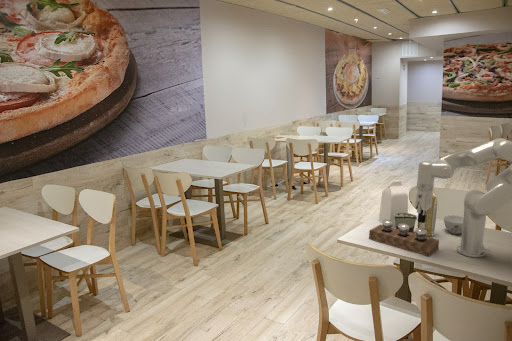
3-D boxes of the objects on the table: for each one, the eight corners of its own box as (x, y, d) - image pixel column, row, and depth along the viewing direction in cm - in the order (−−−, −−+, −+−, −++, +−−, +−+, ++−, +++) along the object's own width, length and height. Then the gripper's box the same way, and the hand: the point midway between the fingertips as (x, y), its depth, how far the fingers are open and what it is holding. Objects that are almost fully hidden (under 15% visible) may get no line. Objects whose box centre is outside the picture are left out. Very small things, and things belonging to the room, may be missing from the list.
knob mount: (438, 249, 204) (439, 239, 203) (428, 256, 196) (429, 246, 195) (379, 232, 226) (380, 224, 225) (368, 238, 218) (369, 230, 217)
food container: (412, 229, 232) (414, 212, 229) (415, 233, 226) (417, 216, 223) (390, 228, 233) (391, 212, 231) (393, 232, 227) (394, 215, 225)
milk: (389, 227, 235) (392, 184, 229) (378, 220, 246) (381, 179, 240) (407, 225, 238) (411, 182, 232) (396, 219, 248) (399, 178, 243)
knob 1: (393, 232, 216) (394, 221, 215) (389, 235, 213) (389, 223, 211) (384, 230, 220) (385, 218, 219) (380, 232, 216) (380, 221, 215)
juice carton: (416, 230, 230) (419, 189, 224) (430, 231, 228) (434, 190, 223) (419, 236, 221) (423, 194, 215) (435, 237, 219) (439, 195, 214)
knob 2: (410, 237, 210) (411, 225, 209) (405, 239, 207) (406, 227, 205) (400, 234, 214) (401, 222, 212) (396, 237, 210) (396, 225, 209)
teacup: (439, 232, 226) (441, 219, 224) (445, 226, 235) (447, 213, 234) (469, 239, 217) (471, 225, 215) (474, 232, 226) (476, 219, 224)
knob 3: (427, 241, 204) (428, 229, 203) (423, 244, 201) (424, 232, 199) (417, 238, 208) (418, 226, 206) (412, 241, 204) (414, 229, 203)
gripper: (426, 190, 190) (422, 227, 194) (438, 185, 200) (434, 220, 205) (410, 187, 195) (407, 223, 199) (423, 182, 206) (420, 216, 210)
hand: (421, 221), depth 202 cm, fingers closed
